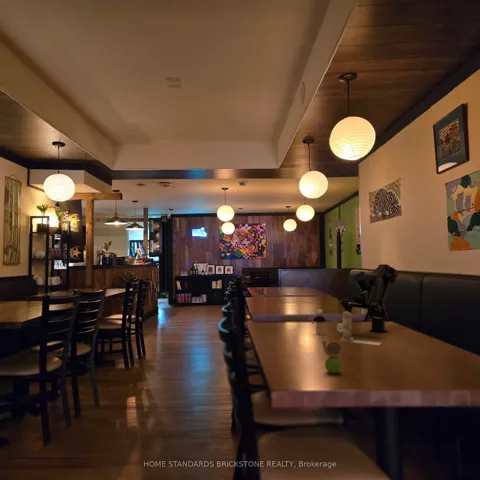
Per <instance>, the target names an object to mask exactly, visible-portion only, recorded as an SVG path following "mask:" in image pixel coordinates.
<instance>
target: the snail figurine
mask: <svg viewBox="0 0 480 480" xmlns="http://www.w3.org/2000/svg"><path fill="white" fill-rule="evenodd" d="M321 339H322V341H321V343H322V346H323V351H324V353H325V354H326V356H328V357H327V358H326V360H325V362H324V367H325V369H326V370H327V372H328V373H330V374H332V375H333V374H334V375H335V374H339V372H341V370H342V367H343V362H342V360H341V359H340V358H339V357H340V355H341V354H342V353H341V350H342V348H341V347H342V346H341V343H339V342H338V341H335V340H334V341H329V343H328V344H327V340H326V339H325V336H324V335H321Z"/></svg>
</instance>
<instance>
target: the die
mask: <svg viewBox="0 0 480 480" xmlns="http://www.w3.org/2000/svg"><path fill="white" fill-rule="evenodd" d="M336 331H339V332H338V333H342V332H343V322H342V323H337V324H336Z"/></svg>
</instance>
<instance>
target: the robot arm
mask: <svg viewBox="0 0 480 480" xmlns="http://www.w3.org/2000/svg"><path fill="white" fill-rule="evenodd" d="M398 278H399V272H398V270H397V269H396V268H394V267H392V266H390V265H389V264H385V263H383V264H382V263H381V264H379V265H378V266H377V267H376V268H375V269H374V270H373V271H372V272H369V273H365V271H359V273H357V274H355V275H354V276H353V280H354V282H355V284H356V286H357V288H358V289H360V290H352V292H351V298H353V302H351V300H350V299H341V301H340V305H341V306H342V309H343V310H344V312H345V311H348V312H350V313H351V314H352V310H353V308H358V309H363V310H364V309H365V310H366V314H365V317H364V320H363V321H364V323H366V322H368V321H369V320H371V329H369V332H373V333H374V332H375V333H385V332H388V330H386V327H385V324H386V323H385V322H386V321H388V319H389V314H388V313H387V310H386V307H385V303H386V300H387V297H388V294H389V291H390V289H391V285H393V284H394V283H395V282H397V279H398ZM380 279H381V282H380ZM379 283H380V286H379V289H378V291H377V294H376V296H375V300H373V299H372V300H371V297H372V295H374V294H375V290H374V288H373V287H377V286H378V285H379Z"/></svg>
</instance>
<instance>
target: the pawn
mask: <svg viewBox="0 0 480 480" xmlns="http://www.w3.org/2000/svg"><path fill="white" fill-rule="evenodd" d="M342 323H343V333H342V337H341V340H342V341H341V342H344V341H347V343H351V342H350V341H353V340H354V337H353V336H352V335H353V334H352V312H351V313H350V312H348V311H345V310H344V311H343V312H342Z"/></svg>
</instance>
